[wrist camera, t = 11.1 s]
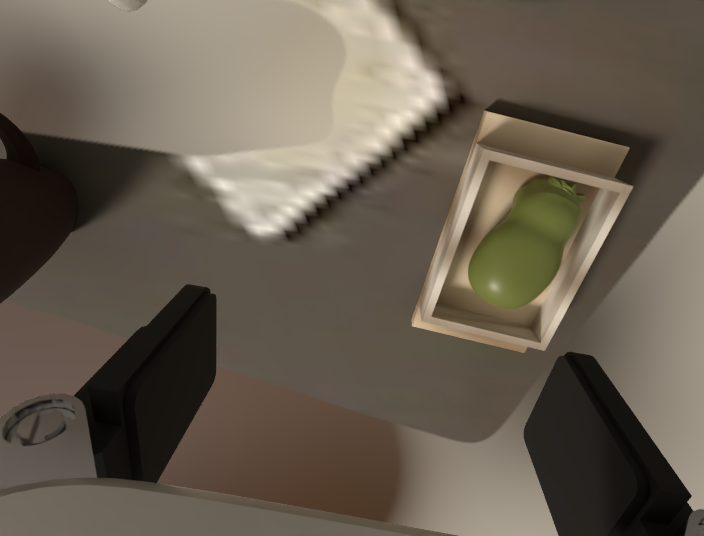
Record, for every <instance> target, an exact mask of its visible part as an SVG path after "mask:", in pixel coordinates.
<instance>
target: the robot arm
mask: <svg viewBox="0 0 704 536" xmlns="http://www.w3.org/2000/svg"><path fill="white" fill-rule="evenodd" d="M215 376H216V295H215V294H211V293H210V289H209V288H207V287H201V286H195V285H190V284H187V285H185V286H184V287H183V288H182V289H181V290H180V291H179V293H178V294H177V295H176V296H175V297H174V298H173V299H172V300H171V301H170V302H169V303H168V304H167V305H166V306H165V307H164V308H163V309H162V310H161V311H160V312H159V314H158V315H157V316H156V317H155V318H154V319H153V320H152V321H151V322H150V323H149V324H148V325H147V326H144V327H141V328H140V329H139V330H137V331H136V332H135V333H134V334H133V335H132V336H131V337H130V338H129V340H128V341H127V342H126V343H125V344H124V345H123V346H122V347H121V348H120V349H119V350H118V351H117V352H116V353H115V354H114V355H113V356H112V357H111V358H110V359H109V360H108V361H107V362H106V363H105V364H104V365H103V366H102V367H101V368H100V369H99V370H98V372H96V374H94V375H93V377H92V378H91V379H90V380H89V381H88V382H87V383H86V384H85V385H84V386H83V387H82V388H81V389H80V390H79V391H78V392H77V393H76V394H75V395H74V396H71V395H67V394H49V395H43V396H38V397H35V398H32V399H29V400H27V401H24V402H22V403H20V404H19V405H17V406H15V407H13V408H12V409H11V410H9V411H8V412H7V413H6V414H4V415H3V416H1V418H0V536H456V535H451V534H445V533H440V532H434V531H429V530H423V529H418V528H413V527H407V526H402V525H396V524H391V523H385V522H380V521H374V520H368V519H363V518H358V517H352V516H347V515H341V514H335V513H330V512H324V511H318V510H313V509H307V508H302V507H296V506H290V505H285V504H278V503H273V502H268V501H261V500H256V499H251V498H245V497H239V496H234V495H228V494H222V493H216V492H210V491H203V490H197V489H191V488H184V487H178V486H172V485H165V484H159V483H157V481H158V480H159V478H160V476H161V474H162V473H163V471H164V469H165V467H166V466H167V464H168V462H169V460H170V458H171V457H172V455H173V453H174V451H175V449H176V448H177V446H178V444H179V442H180V441H181V439H182V437H183V435H184V434H185V432H186V430H187V429H188V427H189V425H190V423H191V422H192V420H193V418H194V416H195V414H196V413H197V411H198V409H199V407H200V406H201V403H202V402H203V400H204V398H205V397H206V395H207V393H208V391H209V390H210V388H211V386H212V384H213V382H214V379H215ZM524 440H525V443H526V446H527V449H528V452H529V454H530V457H531V459H532V462H533V465H534V468H535V471H536V474H537V477H538V479H539V482H540V485H541V488H542V491H543V493H544V496H545V499H546V502H547V504H548V507H549V510H550V513H551V515H552V518H553V521H554V524H555V527H556V530H557V532H558V535H559V536H704V510H703V509H699V510H696V511H693V510H692V509H691V507H690V506H689V504H688V503H687V501H688V500H689V499H690V498H691V494H690V493H689V492H688V490H687V489H686V487H685V486H684V484H683V483H682V482H681V480H680V479H679V477H678V476H677V474H676V473H675V472H674V470H673V469H672V467H671V466H670V464H669V463H668V462H667V460H666V459H665V457H664V456H663V455H662V453H661V452H660V450H659V449H658V447H657V446H656V445H655V443H654V442H653V440H652V439H651V437H650V436H649V435H648V433H647V432H646V430H645V429H644V428H643V426H642V425H641V423H640V422H639V421H638V419H637V418H636V416H635V415H634V413H633V412H632V411H631V409H630V408H629V406H628V405H627V403H626V402H625V401H624V399H623V398H622V396H621V395H620V393H619V392H618V391H617V389H616V388H615V386H614V385H613V384H612V382H611V381H610V379H609V378H608V377H607V375H606V374H605V372H604V371H603V370H602V368H601V366H600V365H599V364H598V362H597V361H596V359H595V358H594V357H593V356H590V355H585V354H579V353H574V352H567V353H566V354H565V355H564V356H560V357H558V359H557V360H556V362H555V364H554V366H553V369H552V371H551V373H550V375H549V377H548V379H547V381H546V383H545V385H544V388H543V390H542V392H541V394H540V396H539V398H538V400H537V402H536V404H535V406H534V409H533V410H532V413H531V415H530V417H529V419H528V421H527V423H526V425H525V428H524Z"/></svg>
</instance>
